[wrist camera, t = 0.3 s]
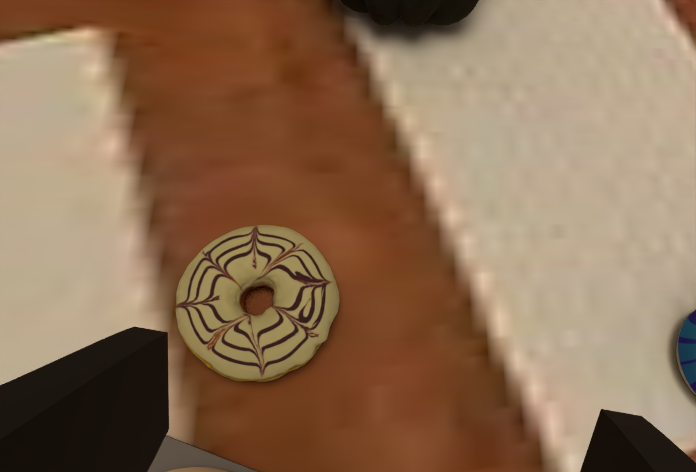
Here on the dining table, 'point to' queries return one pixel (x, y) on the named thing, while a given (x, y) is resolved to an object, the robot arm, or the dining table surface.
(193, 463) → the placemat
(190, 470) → the lid
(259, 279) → the decorated donut
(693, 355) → the beer can
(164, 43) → the dining table surface
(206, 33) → the dining table surface
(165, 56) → the dining table surface
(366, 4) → the squash
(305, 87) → the dining table surface
